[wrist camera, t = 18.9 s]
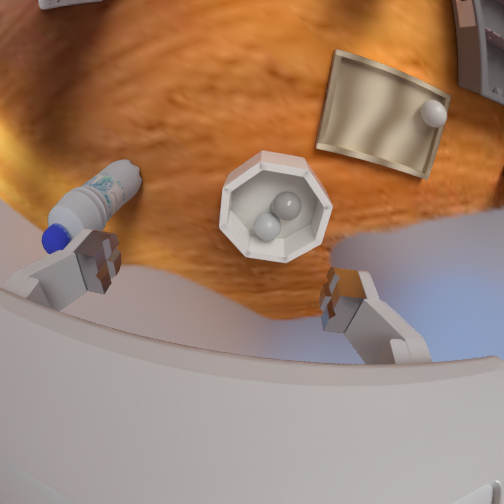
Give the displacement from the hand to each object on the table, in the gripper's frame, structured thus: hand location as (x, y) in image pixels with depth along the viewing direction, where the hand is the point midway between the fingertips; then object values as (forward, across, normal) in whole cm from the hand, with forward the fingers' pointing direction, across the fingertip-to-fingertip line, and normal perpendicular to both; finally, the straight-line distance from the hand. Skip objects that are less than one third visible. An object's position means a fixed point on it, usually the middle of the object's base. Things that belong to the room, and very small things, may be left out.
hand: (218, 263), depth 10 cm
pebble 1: (+26, -4, +11) cm, 29 cm away
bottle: (+29, +19, +9) cm, 36 cm away
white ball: (+29, -23, -9) cm, 38 cm away
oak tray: (+29, -17, -6) cm, 34 cm away
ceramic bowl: (+29, -4, +10) cm, 31 cm away
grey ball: (+28, -5, +11) cm, 30 cm away
